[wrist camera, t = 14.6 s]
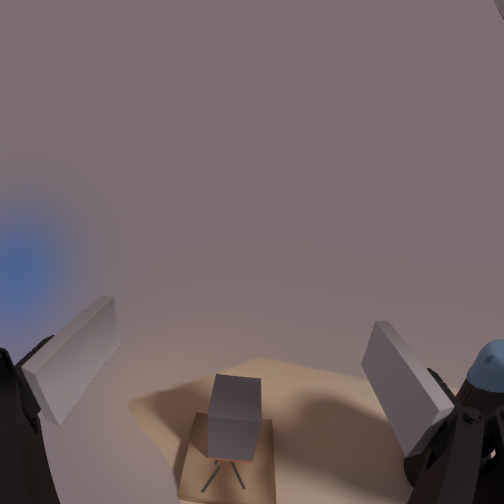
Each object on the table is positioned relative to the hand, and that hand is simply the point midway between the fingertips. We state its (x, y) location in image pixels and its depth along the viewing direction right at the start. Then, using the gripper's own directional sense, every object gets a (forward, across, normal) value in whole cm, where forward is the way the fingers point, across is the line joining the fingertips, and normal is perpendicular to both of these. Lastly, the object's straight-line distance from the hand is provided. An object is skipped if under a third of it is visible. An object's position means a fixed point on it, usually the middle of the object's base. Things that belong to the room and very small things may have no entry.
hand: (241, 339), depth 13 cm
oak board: (+10, 0, -29) cm, 31 cm away
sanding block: (+13, 0, -27) cm, 31 cm away
